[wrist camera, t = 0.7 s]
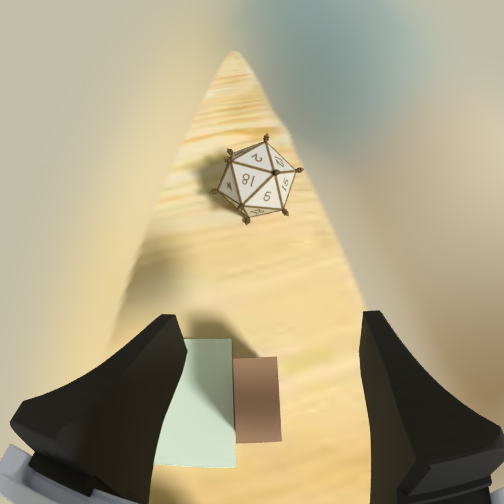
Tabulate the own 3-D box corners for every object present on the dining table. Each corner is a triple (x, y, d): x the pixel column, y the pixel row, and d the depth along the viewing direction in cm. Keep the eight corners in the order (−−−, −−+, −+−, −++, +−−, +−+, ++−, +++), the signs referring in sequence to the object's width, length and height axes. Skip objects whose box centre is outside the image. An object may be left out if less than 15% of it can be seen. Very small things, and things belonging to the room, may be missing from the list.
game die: (242, 229, 39) (179, 196, 31) (265, 166, 40) (210, 123, 32) (304, 242, 33) (243, 203, 25) (327, 168, 34) (276, 114, 26)
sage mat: (236, 467, 23) (235, 467, 23) (152, 463, 23) (151, 463, 23) (231, 339, 29) (231, 338, 29) (152, 339, 29) (151, 338, 29)
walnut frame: (275, 434, 25) (281, 441, 19) (240, 435, 25) (236, 443, 19) (271, 369, 28) (277, 356, 21) (238, 370, 28) (232, 358, 21)
